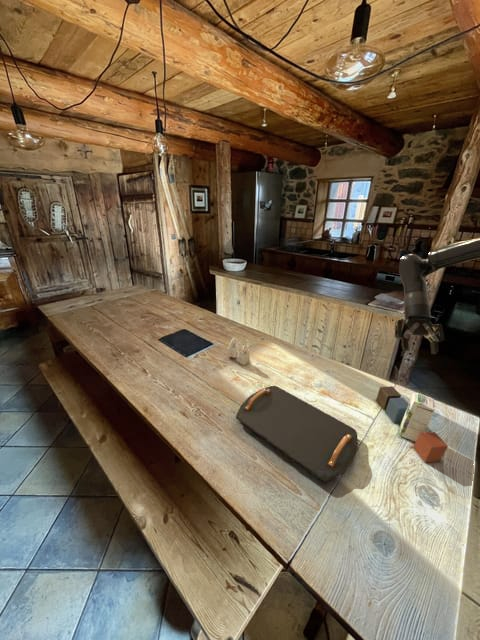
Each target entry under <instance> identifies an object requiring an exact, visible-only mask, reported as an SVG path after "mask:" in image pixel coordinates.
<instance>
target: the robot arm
mask: <svg viewBox="0 0 480 640" xmlns="http://www.w3.org/2000/svg"><path fill="white" fill-rule="evenodd" d="M478 259H480V237H476V238H471V239H465V240H460V241H456V242H453V243H449V244H447V245H443V246H440V247H437V248H434V249H432V250H431V251H429V253H428V256H427V257H426V258H422V257H420V256H419V255H417V254H415V253H407V254H405V255H404V256H402V257H401V258H400V261H399V263H398V273H399V276H400V279H401V282H402V285H403V296H404V298H403V311H404V321H402V320H401V319H398V320H397V321H396V322H395V323H394V338H395V339H399V340H400V341H401V349H402V350H403V351H404V352H408V351H409V350H410V347H409V345H410V344H409V339H408V338H409V337H410V336H411V335H412V336H420V337H424V338H425V339H428V341H429V342H430V344H429V345H430V354H431V355H436V354H438V352H440V351H439V350H440V349H439V343H441V342H444V341H445V334H444V328H443V324H442V323H440V322H439V323H434V324H433V322H432V315H431V304H430V298H429V291H428V284H427V281H426V280H425V278H424V277H427V276H429V275H431V274H433V273H436V272H437V271H439V270H440V269H445V268H448V267H452V266H455V265H458V264H459V265H460V264H463V263H466V262H469V261H474V260H478ZM403 327H405V329H406V331H405V332H404V333H403Z"/></svg>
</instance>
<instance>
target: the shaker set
mask: <svg viewBox="0 0 480 640" xmlns="http://www.w3.org/2000/svg"><path fill="white" fill-rule="evenodd" d="M238 343H239V342H238V339H237V337H232V339H231V341H230V343H229V345H228V347H227V350H226V352H225V355H226V356H228V357H230V358H233V359H235V358H237V359H236V362H237V363H239V364H240V365H247V364H251V357H250V356H251V355H250V349H249V348H250V347H249V345H248V344H247V345H245V344H244V345H243V346H242V349H241V350H240V352H239V344H238Z"/></svg>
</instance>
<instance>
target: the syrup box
mask: <svg viewBox="0 0 480 640" xmlns="http://www.w3.org/2000/svg"><path fill="white" fill-rule="evenodd" d="M408 403H409V405H408V407H407V410H406V412H405V415H404V417H403V420H402V422H400V427H399V437H402V438H404V439H407V440H409V441H412V442H414V443H416V441H417V438H418V436H419V434H420V433H426V431H427V430H426V429H427V428H428V425H429V424H430V421H431V419H432V417H433V415H434V412H435V410H436V409H435V399H434V398H432V397H430V396H427V395H424V394H421V393H417V392H413V393H412V395H411V398H410V400H409V402H408Z"/></svg>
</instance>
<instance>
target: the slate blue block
mask: <svg viewBox="0 0 480 640" xmlns="http://www.w3.org/2000/svg"><path fill="white" fill-rule="evenodd" d="M409 403H410V402H408V401H407V400H406V399H405V398H404V397H400V398H390V399H389V402H388V405H387V408H386V410H384V411H385V412H384V413H385V414H386V415H387V416H388V418H389V419H390V420H391V421H392V423H393V424H395V423H397V424H398V423H401V422H402V420H403V417H404V415H405V412H406V410H407V407H408V405H409Z"/></svg>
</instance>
